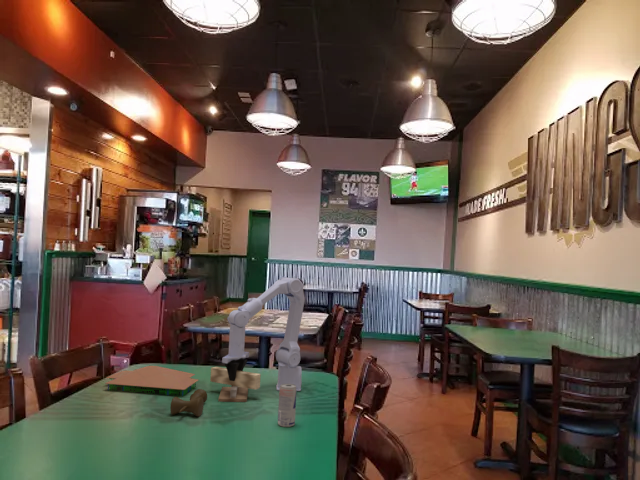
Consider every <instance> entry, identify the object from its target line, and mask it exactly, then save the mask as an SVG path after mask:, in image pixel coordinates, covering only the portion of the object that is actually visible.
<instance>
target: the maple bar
mask: <svg viewBox="0 0 640 480" xmlns="http://www.w3.org/2000/svg"><path fill="white" fill-rule="evenodd" d="M210 382H212V383H217V384H222V385H228V386H232V385H233V386H238V387H244V388H248V390H249V389H250V390H258V389H261V373H256V372H251V371H250V372H249V371H244V370H243V371H239V370H237V372H236V378H235V381H230V380H229V376H228V371H227V368H226V367H220V366H214V367H210Z"/></svg>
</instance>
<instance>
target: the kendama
mask: <svg viewBox="0 0 640 480" xmlns="http://www.w3.org/2000/svg"><path fill="white" fill-rule="evenodd" d="M207 400H208V392H207V391H206V390H204V389H202V388H198V389H195V390H194V392H193V393H192V394H191V395H190V397H189V400H184V399H182V398H180V397H179V396H174V397H173V398H172V400H171V401H170V414H171V415H172V416H174V415H177V414H180V413H183V412H186V413H191V414H193V415H194V416H196V418H197V417H198V418H199V417H201V416H202V414H203V410H204V406H205V405H204V403H206V402H207Z"/></svg>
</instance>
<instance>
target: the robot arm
mask: <svg viewBox="0 0 640 480" xmlns="http://www.w3.org/2000/svg"><path fill="white" fill-rule="evenodd" d="M304 285H305V284H304V283H303V282H302V281H301V280H300V279H299V278H297V277H286V276H281V277H280V278H279V279H278V280H276V281H274V283H273V284H272V285H271V286H270V287H268V289H266V290H265V291H263V293H261V294H260V295H259V296H258V297H251V298H250V297H249V298H248V299H247V301H246V302H245V303H244V304H242V305H241V306H240V305H239V306H238V307H237V309H234V310H232V311H231V312H230V313H229V315H228V316H227V321H228V324H229V335H228V336H229V337H228V354H226V355H224V356H223V357H222V360H221V363H222V364H224V365H225V368H227V371H228V376H229V380H230V381H235V378H236V372H237V370H239V371H244V369H245V367H246V364H247V362H248V359H246V358H249V355H250V352H249V351H245V342H246V341H245V340H246V326H247V325H248V323H249V321H250V320H251V319H252V318H253V317H254V316H256V315H257V314H258V313H260V312H261V311H262V309H263V306H264V305H265V304H266V303H268V302H270V301H271V300H272V299H273V298H275V297H276V296H277V297H278V295H285V296H286V297H287V299H288V300H289V301H290V303H289V309H288V315H287V321H286V326H285V330H284V338H283V340H282V341H281V342H280V343H279V346H278V349H277V350H276V352H275V359H276V361H277V363H278V364H277V365H278V370H277V384H276V385H275V386H276V389H275V390H276V391H278V392H279V388H280V385H281V384H294V385H296V388H297V390H296V392H301V390H302V383H303V382H302V375H303V374H302V372H303V371H302V366H300V361H301V354H300V353H301V352H300V351H301V348H300V346H299V343H298V339H299V336H300V335H299V334H300V328H301V323H302V318H303V312H304V306H305V301H306V300H305V299H306V298H305V293H304V287H305V286H304Z"/></svg>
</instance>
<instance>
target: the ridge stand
mask: <svg viewBox="0 0 640 480" xmlns="http://www.w3.org/2000/svg"><path fill="white" fill-rule="evenodd" d="M248 394H249V388H244V387H238V386H233V385H230V386H221V389H220V393H219V396H218V399H217V400H218V401H217V402H220V403H221V402H223V403H224V402H226V403H233V402H234V403H247V402H248V396H249V395H248Z"/></svg>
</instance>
